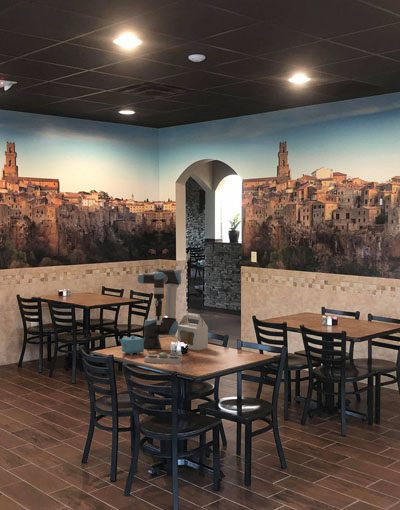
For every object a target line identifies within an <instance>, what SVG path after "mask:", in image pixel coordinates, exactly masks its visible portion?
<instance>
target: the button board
mask: <svg viewBox="0 0 400 510" xmlns="http://www.w3.org/2000/svg"><path fill="white" fill-rule="evenodd" d="M182 358H183V357H182V356H179V355H177V356H171V355H167V356H159V354H155V355H149V354H147V355H146V356H144V358H143V362H144V363H153V364H154V363H155V364H157V363H158V364H174V365H176V364H177V365H179V364H180V363H181V362H182V361H183V360H182Z"/></svg>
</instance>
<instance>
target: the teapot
mask: <svg viewBox="0 0 400 510" xmlns="http://www.w3.org/2000/svg"><path fill="white" fill-rule="evenodd" d="M117 340H118V341H119V342H120V345H121V352H123V353H124V354H125V353H126V355H127V353H128V356H133V354H136V355H141V353H144V352H145V351H144V349H145V348H144V337H143V338H142V337H138V336H135V335H131V336H130V337H129V336H127V337H122V338H121V339H120V338H118V339H117Z"/></svg>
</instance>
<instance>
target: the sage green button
mask: <svg viewBox="0 0 400 510" xmlns="http://www.w3.org/2000/svg"><path fill="white" fill-rule="evenodd" d="M158 355H159V356H168V353H167V352H159V353H158Z"/></svg>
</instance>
